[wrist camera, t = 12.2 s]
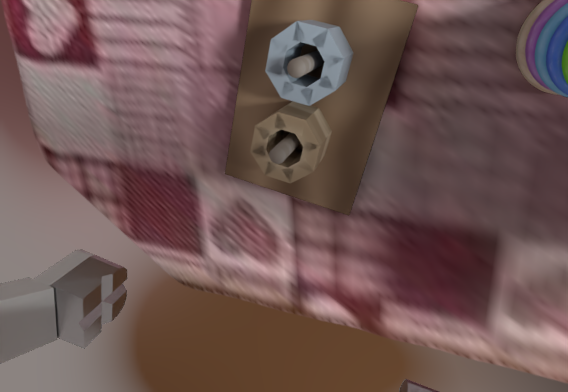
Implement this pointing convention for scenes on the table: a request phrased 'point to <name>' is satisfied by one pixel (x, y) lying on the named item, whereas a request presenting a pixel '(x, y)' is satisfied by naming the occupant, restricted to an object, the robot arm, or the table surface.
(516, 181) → the table surface
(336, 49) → the loose gear
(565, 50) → the stacking toy
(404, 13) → the gear board
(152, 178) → the table surface
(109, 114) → the table surface
